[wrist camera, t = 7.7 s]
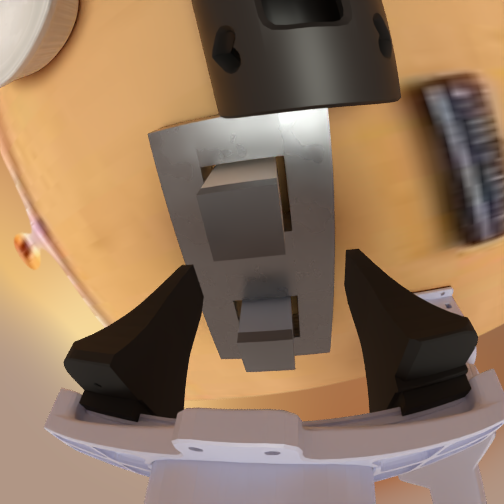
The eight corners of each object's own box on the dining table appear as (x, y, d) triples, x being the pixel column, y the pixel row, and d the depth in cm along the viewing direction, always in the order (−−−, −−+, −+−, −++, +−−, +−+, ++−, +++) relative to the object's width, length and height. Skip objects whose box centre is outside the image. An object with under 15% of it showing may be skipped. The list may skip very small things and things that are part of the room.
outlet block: (318, 102, 17) (327, 105, 14) (326, 330, 28) (329, 352, 26) (163, 126, 18) (147, 133, 16) (224, 337, 30) (221, 358, 27)
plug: (274, 152, 19) (277, 184, 13) (281, 203, 21) (285, 254, 15) (219, 159, 19) (196, 195, 14) (229, 209, 22) (213, 261, 16)
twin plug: (289, 278, 25) (292, 339, 19) (291, 309, 27) (295, 369, 21) (244, 281, 25) (236, 342, 20) (251, 312, 27) (246, 372, 22)
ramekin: (-4, 50, 12) (-39, 56, 8) (58, -39, 8) (23, -48, 3) (38, 103, 16) (-3, 115, 12) (113, 1, 12) (74, -12, 8)
